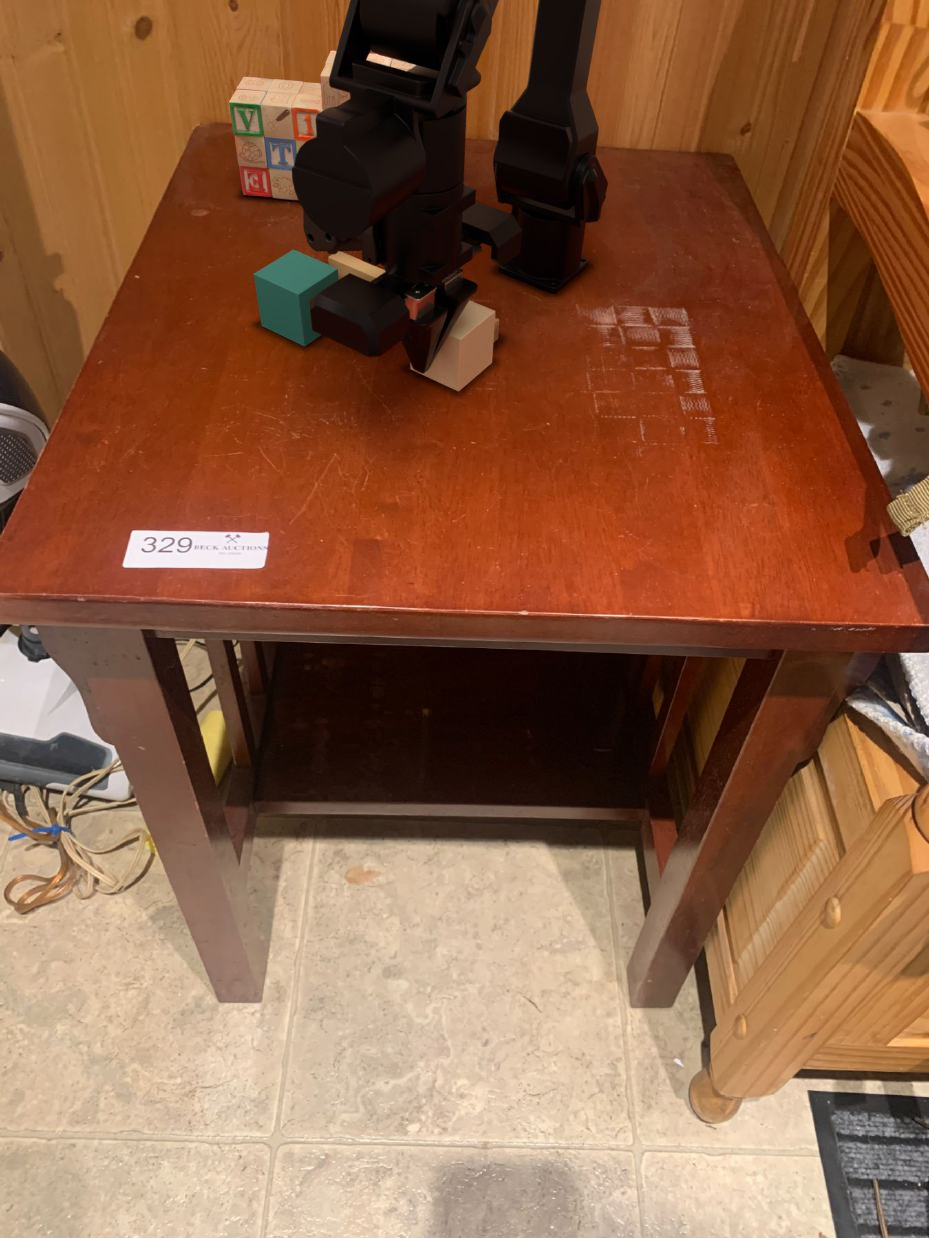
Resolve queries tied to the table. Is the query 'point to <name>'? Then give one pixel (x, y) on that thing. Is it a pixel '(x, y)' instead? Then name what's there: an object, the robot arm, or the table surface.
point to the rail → (367, 272)
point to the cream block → (465, 348)
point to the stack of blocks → (281, 125)
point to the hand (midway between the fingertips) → (420, 370)
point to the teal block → (292, 294)
